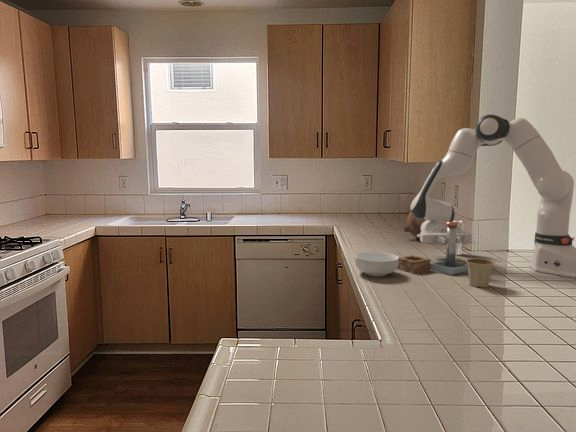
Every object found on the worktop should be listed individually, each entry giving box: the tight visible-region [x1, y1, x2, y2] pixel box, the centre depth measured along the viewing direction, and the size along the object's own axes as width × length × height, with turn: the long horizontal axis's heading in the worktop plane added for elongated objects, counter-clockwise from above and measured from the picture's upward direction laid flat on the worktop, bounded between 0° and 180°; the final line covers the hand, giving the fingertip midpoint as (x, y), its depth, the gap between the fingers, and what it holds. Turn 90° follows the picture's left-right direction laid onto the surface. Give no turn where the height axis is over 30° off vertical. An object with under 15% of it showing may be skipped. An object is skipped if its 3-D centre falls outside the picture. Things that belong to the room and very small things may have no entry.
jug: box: [403, 211, 427, 240], centre depth 255 cm, size 20×20×30 cm
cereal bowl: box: [354, 251, 399, 277], centre depth 182 cm, size 17×17×7 cm
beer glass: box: [453, 220, 465, 256], centre depth 215 cm, size 7×7×15 cm
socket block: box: [396, 254, 431, 274], centre depth 188 cm, size 9×9×4 cm
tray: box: [429, 260, 468, 277], centre depth 186 cm, size 11×11×2 cm
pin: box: [445, 222, 458, 267], centre depth 185 cm, size 5×5×17 cm
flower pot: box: [465, 257, 496, 288], centre depth 166 cm, size 9×9×9 cm
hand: (452, 241), depth 184 cm, fingers closed on pin, 3 cm apart
